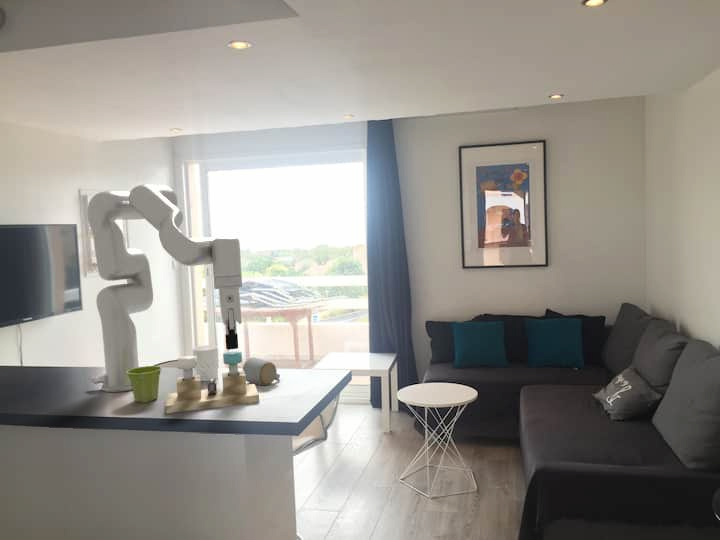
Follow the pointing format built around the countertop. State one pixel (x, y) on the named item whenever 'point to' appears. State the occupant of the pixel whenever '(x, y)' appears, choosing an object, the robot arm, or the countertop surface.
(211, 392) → the grey metal peg
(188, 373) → the ivory knob
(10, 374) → the countertop surface
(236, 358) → the teal knob
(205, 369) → the white cup
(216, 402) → the mount
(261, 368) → the ceramic mug
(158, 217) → the robot arm
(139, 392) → the plant pot
